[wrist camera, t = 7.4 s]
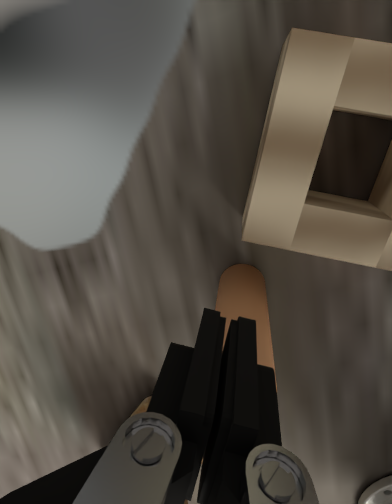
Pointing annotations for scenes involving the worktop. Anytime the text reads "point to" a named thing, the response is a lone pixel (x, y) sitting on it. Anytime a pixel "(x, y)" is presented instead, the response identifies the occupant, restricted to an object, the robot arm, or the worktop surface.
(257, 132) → the worktop surface
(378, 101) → the beige square ring
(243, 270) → the dowel
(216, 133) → the worktop surface
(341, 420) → the worktop surface
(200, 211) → the worktop surface
